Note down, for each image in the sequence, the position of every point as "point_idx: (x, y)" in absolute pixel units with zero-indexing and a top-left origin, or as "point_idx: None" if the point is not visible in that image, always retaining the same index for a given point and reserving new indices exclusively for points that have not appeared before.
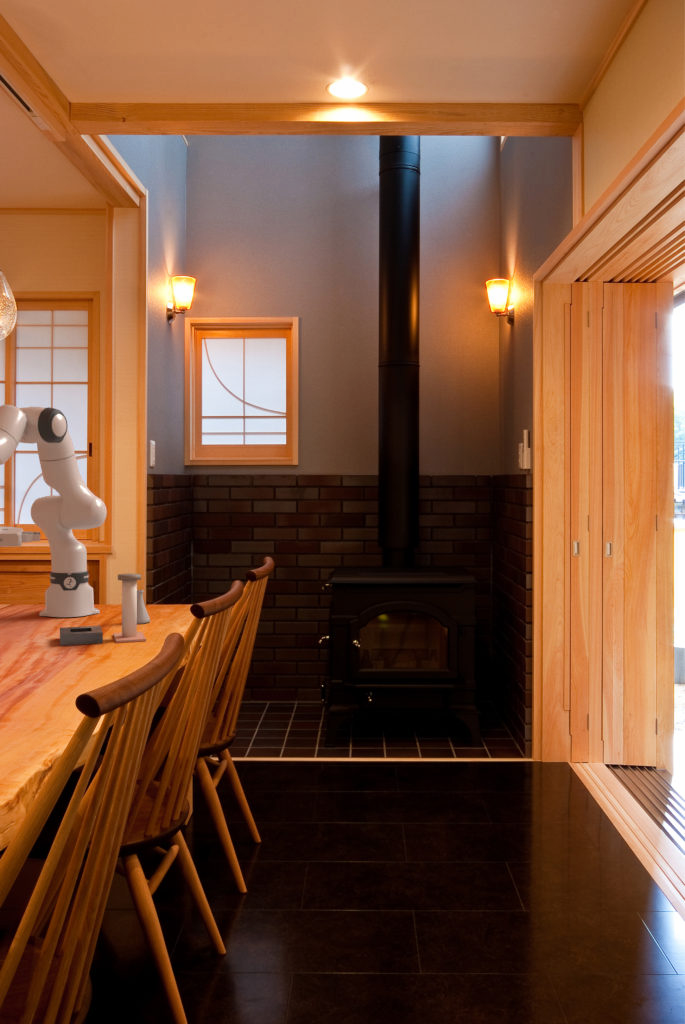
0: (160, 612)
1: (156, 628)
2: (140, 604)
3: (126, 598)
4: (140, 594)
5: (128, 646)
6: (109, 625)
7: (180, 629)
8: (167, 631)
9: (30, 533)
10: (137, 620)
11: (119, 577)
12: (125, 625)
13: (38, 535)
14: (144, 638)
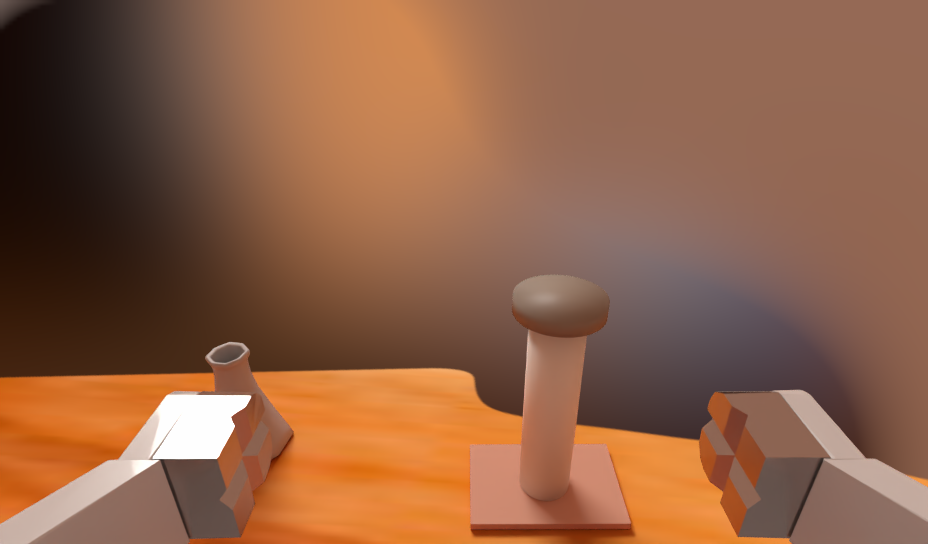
0: (112, 382)
1: (392, 411)
2: (259, 388)
3: (579, 381)
4: (246, 360)
5: (693, 498)
6: (244, 530)
7: (435, 369)
8: (454, 394)
9: (106, 528)
10: (280, 438)
11: (591, 324)
12: (569, 462)
13: (806, 404)
14: (596, 446)
